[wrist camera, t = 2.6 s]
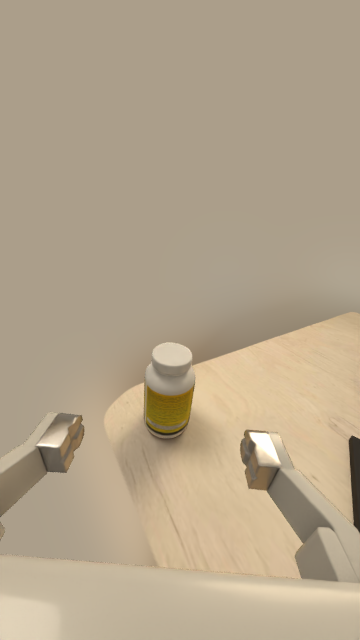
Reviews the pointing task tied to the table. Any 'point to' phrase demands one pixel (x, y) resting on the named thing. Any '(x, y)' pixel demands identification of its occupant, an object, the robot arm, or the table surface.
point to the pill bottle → (168, 390)
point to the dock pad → (355, 478)
